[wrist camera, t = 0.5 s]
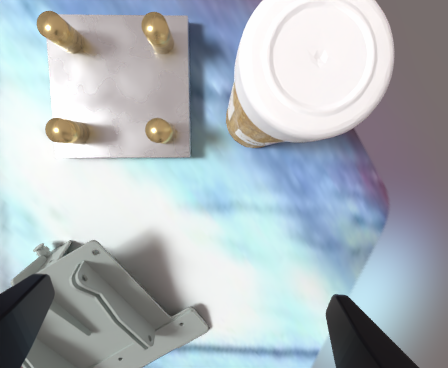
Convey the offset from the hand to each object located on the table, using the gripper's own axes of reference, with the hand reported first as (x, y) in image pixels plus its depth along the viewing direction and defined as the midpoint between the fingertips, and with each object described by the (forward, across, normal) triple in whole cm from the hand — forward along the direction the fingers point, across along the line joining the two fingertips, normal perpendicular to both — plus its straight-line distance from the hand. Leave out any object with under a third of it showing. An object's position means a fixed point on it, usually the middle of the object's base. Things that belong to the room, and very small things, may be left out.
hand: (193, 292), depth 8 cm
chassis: (+15, +7, -3) cm, 17 cm away
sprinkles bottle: (+15, -3, -2) cm, 16 cm away
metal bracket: (+9, +9, +14) cm, 19 cm away
